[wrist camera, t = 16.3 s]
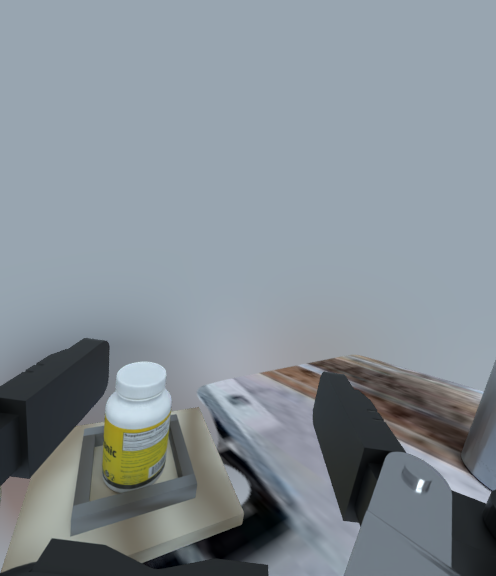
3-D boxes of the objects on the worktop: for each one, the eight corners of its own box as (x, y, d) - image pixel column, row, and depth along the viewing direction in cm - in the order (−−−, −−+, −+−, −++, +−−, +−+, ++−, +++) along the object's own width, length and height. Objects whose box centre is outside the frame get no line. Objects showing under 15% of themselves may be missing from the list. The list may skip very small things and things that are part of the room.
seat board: (197, 415, 35) (200, 396, 34) (241, 524, 23) (246, 498, 22) (46, 440, 27) (46, 417, 27) (-10, 621, 15) (-12, 586, 15)
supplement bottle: (103, 451, 26) (109, 358, 24) (161, 441, 28) (171, 356, 26) (97, 504, 21) (104, 394, 19) (168, 488, 23) (180, 387, 22)
